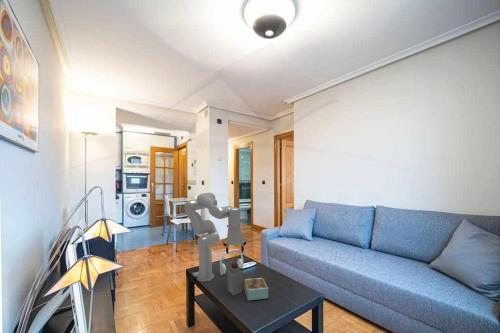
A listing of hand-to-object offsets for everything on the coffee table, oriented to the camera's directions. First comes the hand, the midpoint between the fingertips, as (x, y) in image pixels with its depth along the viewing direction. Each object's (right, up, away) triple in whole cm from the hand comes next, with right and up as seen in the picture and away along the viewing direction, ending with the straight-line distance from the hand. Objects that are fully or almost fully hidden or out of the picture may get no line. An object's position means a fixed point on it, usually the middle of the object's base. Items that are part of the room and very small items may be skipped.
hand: (234, 252), depth 143 cm
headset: (-4, -26, +26) cm, 37 cm away
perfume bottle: (0, -26, 0) cm, 26 cm away
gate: (+15, -24, -10) cm, 30 cm away
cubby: (+14, -25, -3) cm, 29 cm away
